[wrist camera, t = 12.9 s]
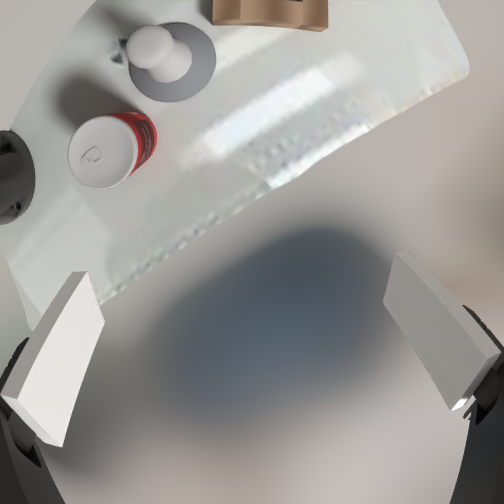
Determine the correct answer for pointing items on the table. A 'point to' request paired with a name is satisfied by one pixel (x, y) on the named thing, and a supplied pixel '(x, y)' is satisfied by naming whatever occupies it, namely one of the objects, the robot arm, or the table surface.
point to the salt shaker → (158, 53)
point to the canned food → (110, 148)
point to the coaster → (195, 75)
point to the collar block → (272, 13)
